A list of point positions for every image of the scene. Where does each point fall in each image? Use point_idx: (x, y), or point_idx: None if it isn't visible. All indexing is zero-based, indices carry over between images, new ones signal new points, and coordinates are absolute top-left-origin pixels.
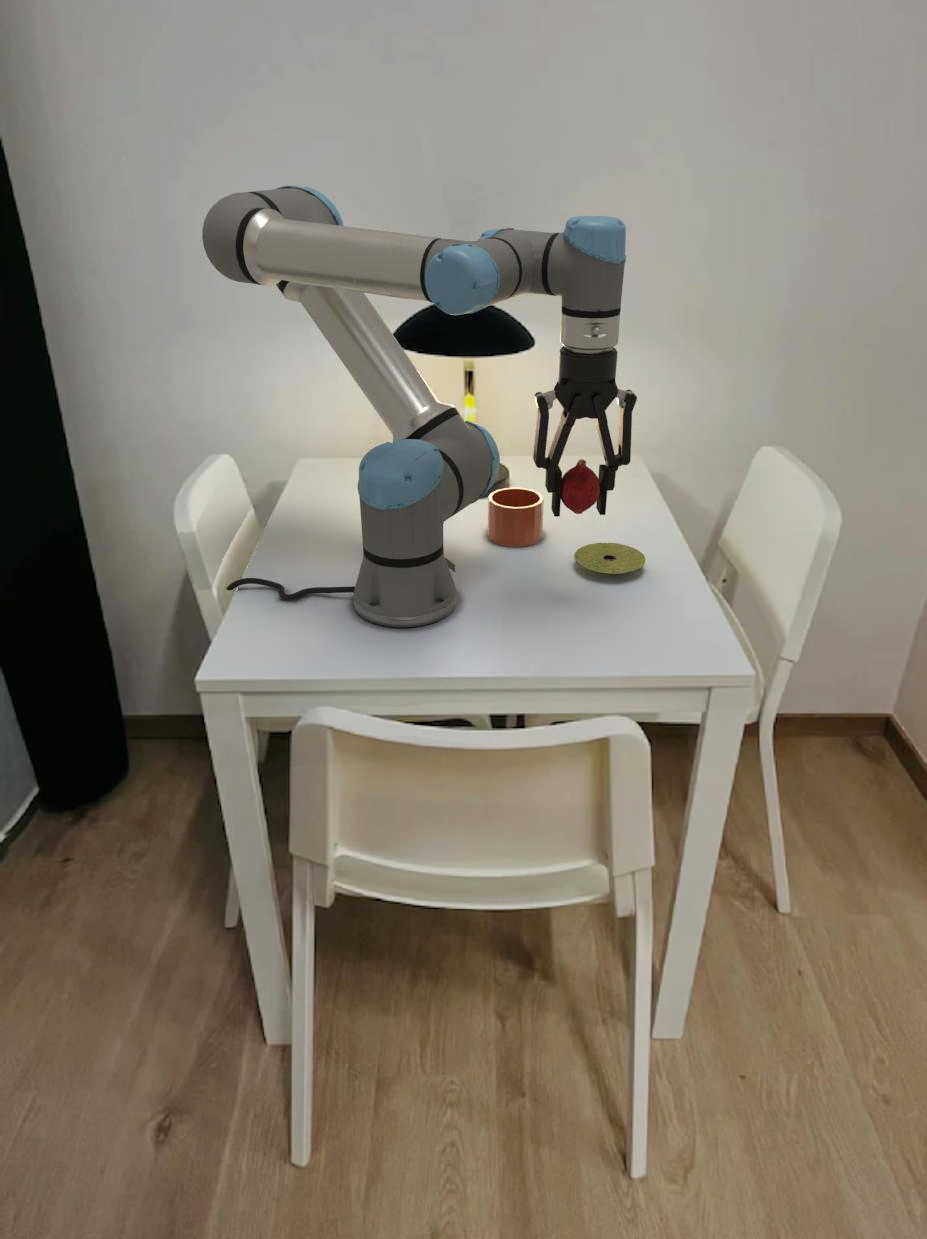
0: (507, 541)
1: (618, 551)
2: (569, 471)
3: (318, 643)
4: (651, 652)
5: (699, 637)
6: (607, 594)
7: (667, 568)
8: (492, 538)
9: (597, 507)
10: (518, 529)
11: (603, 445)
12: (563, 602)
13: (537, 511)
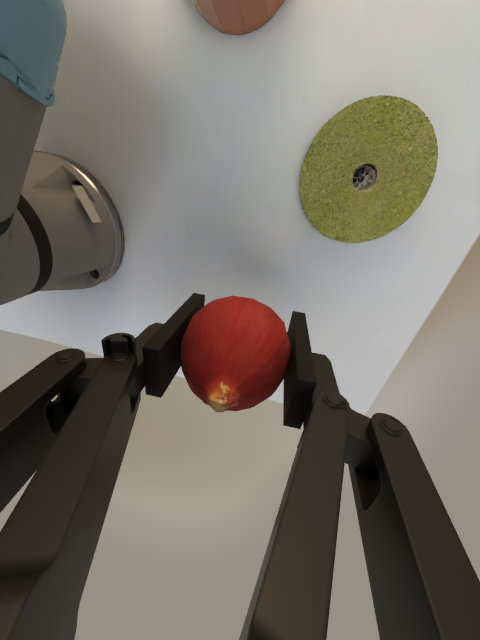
0: (209, 19)
1: (396, 151)
2: (189, 379)
3: None
4: None
5: (359, 374)
6: (312, 265)
7: (455, 203)
8: None
9: (290, 324)
10: (224, 8)
11: (276, 518)
12: (249, 271)
13: None
